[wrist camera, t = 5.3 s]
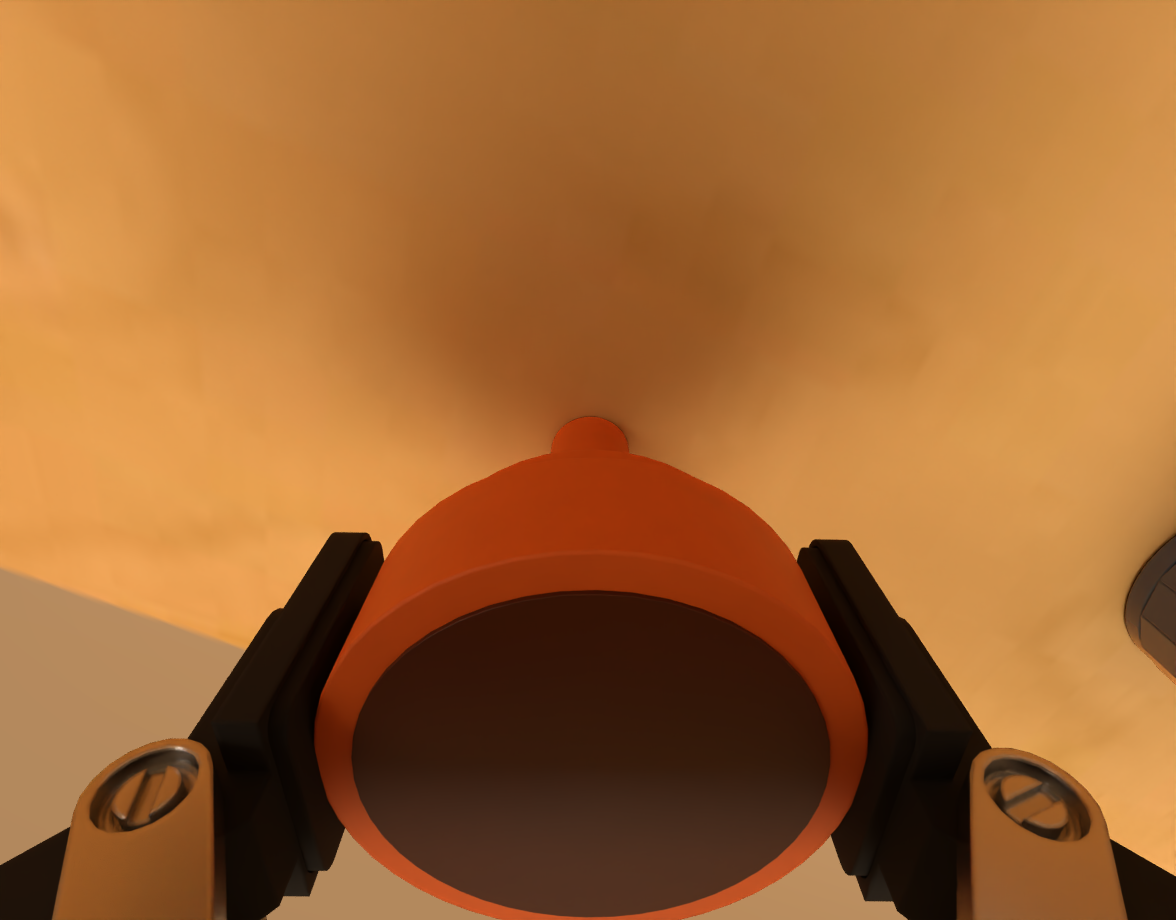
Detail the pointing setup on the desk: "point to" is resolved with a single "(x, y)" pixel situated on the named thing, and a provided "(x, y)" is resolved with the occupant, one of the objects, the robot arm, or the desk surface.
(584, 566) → the funnel
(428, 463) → the desk surface
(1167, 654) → the tumbler
